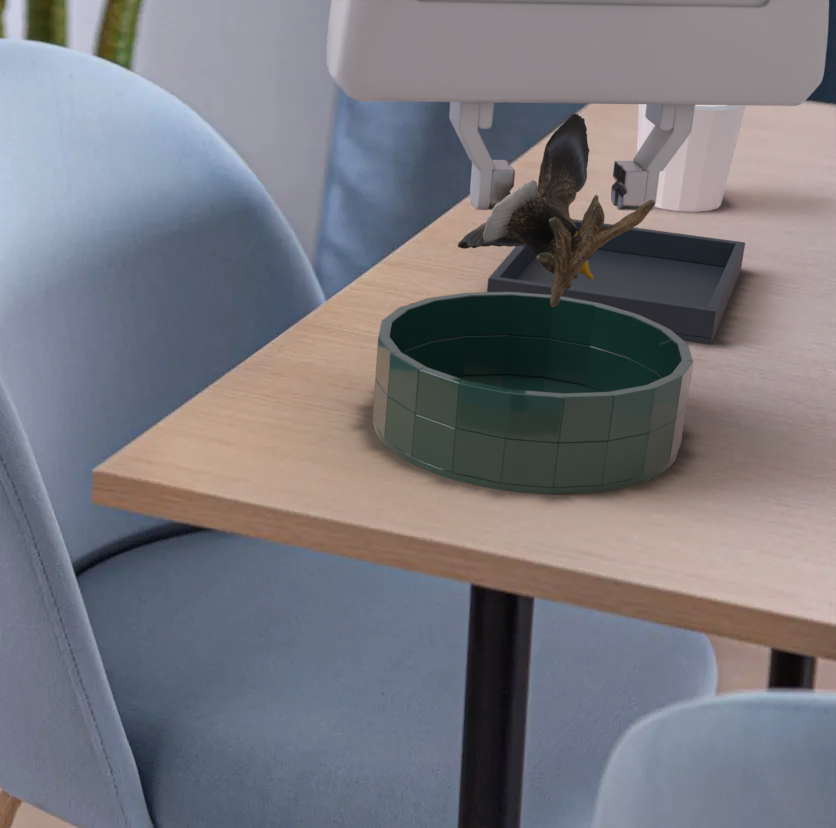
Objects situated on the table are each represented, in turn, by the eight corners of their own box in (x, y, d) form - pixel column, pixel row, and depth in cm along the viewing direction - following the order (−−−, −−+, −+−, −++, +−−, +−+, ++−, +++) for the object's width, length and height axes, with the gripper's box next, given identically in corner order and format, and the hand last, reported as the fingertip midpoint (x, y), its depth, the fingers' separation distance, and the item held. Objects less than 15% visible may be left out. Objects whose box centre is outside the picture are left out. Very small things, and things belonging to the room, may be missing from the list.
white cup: (731, 220, 114) (748, 112, 111) (624, 210, 115) (638, 102, 112) (728, 195, 120) (744, 91, 117) (626, 185, 121) (640, 82, 118)
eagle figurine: (691, 277, 72) (618, 182, 80) (627, 142, 68) (556, 55, 75) (528, 370, 74) (471, 269, 81) (455, 244, 69) (401, 149, 76)
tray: (539, 247, 106) (542, 214, 106) (740, 275, 103) (745, 242, 102) (484, 314, 94) (488, 278, 94) (710, 348, 91) (716, 311, 90)
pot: (433, 362, 87) (441, 274, 85) (706, 415, 82) (721, 323, 81) (325, 456, 76) (331, 357, 74) (634, 524, 71) (649, 420, 69)
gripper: (821, -142, 73) (771, 189, 79) (328, -157, 70) (315, 186, 76) (883, -127, 67) (824, 228, 73) (350, -142, 65) (334, 227, 70)
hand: (560, 207), depth 74 cm, fingers closed on eagle figurine, 5 cm apart
